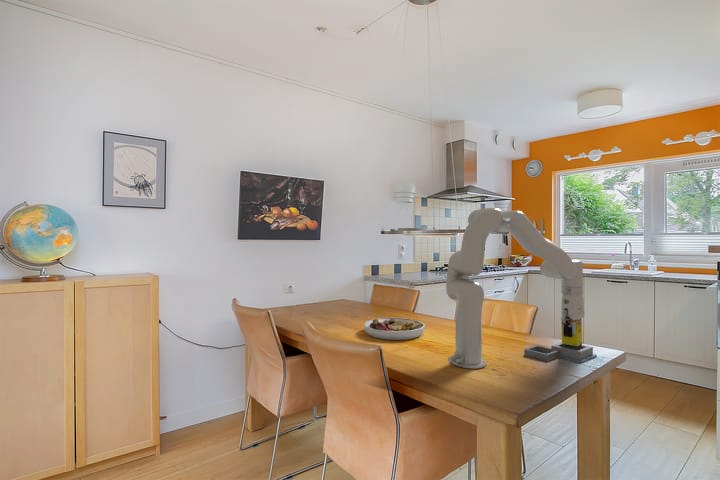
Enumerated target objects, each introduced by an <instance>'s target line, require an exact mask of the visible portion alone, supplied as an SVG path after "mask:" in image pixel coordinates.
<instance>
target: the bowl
mask: <svg viewBox="0 0 720 480" xmlns="http://www.w3.org/2000/svg"><path fill="white" fill-rule="evenodd" d="M425 328H426V327H425V323H423V322H422V321H419V320H416V319H411V318H405V317H379V318H373V319H370V320H367V321H365V322H364V324H363V329H364V331H365V333H366V334H367V335H368V336H370V337H373V338H376V339H380V340H385V341H386V340H387V341H406V340H412V339H416V338H418V337H420V336H421V335H422V334H423V333H424V331H425Z"/></svg>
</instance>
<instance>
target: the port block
mask: <svg viewBox="0 0 720 480" xmlns="http://www.w3.org/2000/svg"><path fill="white" fill-rule="evenodd" d="M550 346H551V347H550V348H551V349H555V350H559V351H560V355H559V357H558V358H560V359H564V360H568V361H571V362H576V363H578V364H579V363H580V364H583V363H585V362H587V361H590V360H593V359H595V358H597V355H598V354H596V353H595V354H594V346H589V345H584V344H582V345H581V346H580V347H579V348H575V347H569V346H562V341H561V342H557V343H555V344H552V345H550Z"/></svg>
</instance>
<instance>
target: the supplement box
mask: <svg viewBox="0 0 720 480" xmlns="http://www.w3.org/2000/svg"><path fill="white" fill-rule="evenodd" d="M567 319H570V318H567ZM582 319H583V318H582ZM582 319H578V320H575V321H574V320H572V325H571V327H572V337H566V336H564V335H563V323H562V320H561V319H560V320H561V321H560V322H561V342H562V346H569V347H575V348H579V347H580V346H581V345H583V324H582V322H583V320H582ZM568 322H569V321H568Z"/></svg>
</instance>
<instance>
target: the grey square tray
mask: <svg viewBox="0 0 720 480" xmlns="http://www.w3.org/2000/svg"><path fill="white" fill-rule="evenodd" d="M523 354H524V356H525V357H529V358H533V359H537V360H541V361H544V362H550V361H553V360H556V359H558V358H559V355H560V351H559V350H555V349H551V347H547V346H546V347H545V346H542V345H538V344H537V345H533V346H530V347H527V348H524V349H523Z"/></svg>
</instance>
